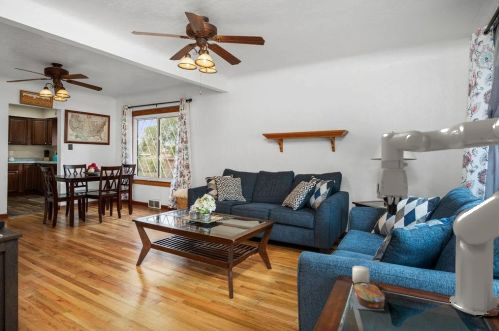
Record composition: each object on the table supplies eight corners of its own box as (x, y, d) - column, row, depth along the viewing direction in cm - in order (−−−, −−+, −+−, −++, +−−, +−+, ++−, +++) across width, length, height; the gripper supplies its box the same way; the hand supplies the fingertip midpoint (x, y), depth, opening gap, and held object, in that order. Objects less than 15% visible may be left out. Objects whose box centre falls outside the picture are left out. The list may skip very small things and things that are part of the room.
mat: (370, 291, 105) (370, 290, 105) (384, 310, 91) (384, 309, 91) (347, 290, 106) (347, 289, 106) (358, 309, 92) (358, 308, 92)
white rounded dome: (366, 281, 114) (366, 266, 114) (371, 287, 108) (371, 271, 108) (350, 280, 115) (350, 265, 114) (354, 287, 109) (354, 271, 109)
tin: (388, 302, 91) (360, 298, 92) (387, 312, 91) (359, 308, 92) (375, 282, 105) (351, 279, 107) (374, 291, 106) (350, 288, 107)
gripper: (408, 165, 112) (408, 213, 112) (368, 165, 113) (368, 212, 113) (418, 166, 104) (417, 216, 104) (374, 166, 106) (374, 216, 106)
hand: (392, 214), depth 109 cm, fingers closed
